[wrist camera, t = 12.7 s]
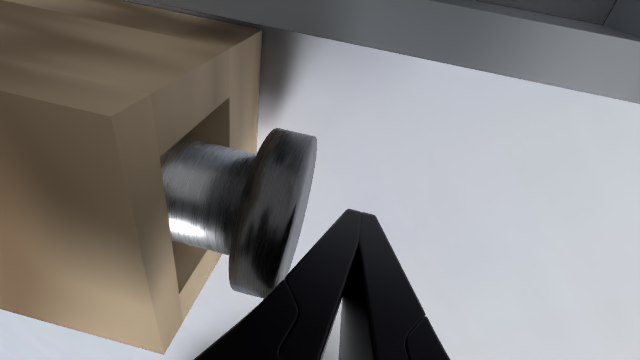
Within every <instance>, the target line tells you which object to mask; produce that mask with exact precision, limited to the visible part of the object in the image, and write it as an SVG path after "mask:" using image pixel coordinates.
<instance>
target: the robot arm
mask: <svg viewBox="0 0 640 360" xmlns="http://www.w3.org/2000/svg"><path fill="white" fill-rule="evenodd" d="M341 300H342V312H341V328H340V345H339V360H450V358H449V357H448V355H447V353H446V352H445V350H444V348H443V346H442V344H441V342H440V341H439V339H438V337H437V335H436V333H435V331H434V329H433V327H432V325H431V324H430V322H429V320H428V318H427V317H426V316H425V315H426V314H425V312H424V310H423V308H422V306H421V304H420V302H419V300H418V298H417V296H416V294H415V292H414V290H413V288H412V286H411V284H410V282H409V281H408V279H407V277H406V275H405V273H404V271H403V269H402V267H401V265H400V263H399V261H398V259H397V257H396V255H395V253H394V251H393V249H392V247H391V245H390V243H389V241H388V239H387V237H386V235H385V233H384V231H383V229H382V227H381V226H380V224H379V222H378V220H377V218H376V216H375V215H373V214H368V213H364V212H360V211H356V210H352V209H347V210H346V211H345V212H344V213H343V214H342V215H341V216H340V217H339V218H338V220H337V221H336V222H335V223H334V224H333V225H332V226H331V227H330V228H329V229H328V231H327V232H326V233H325V234H324V235H323V236H322V237H321V238H320V239H319V240H318V242H317V243H316V244H315V245H314V246H313V247H312V248H311V249H310V250H309V251H308V253H307V254H306V255H305V256H304V257H303V258H302V259H301V260H300V261H299V262H298V264H297V265H296V266H295V267H294V268H293V269H292V270H291V271H290V272H289V273H288V275H287V276H286V277H285V278H284V280H282V281H281V282H280V283H279V284H278V285H277V286H276V287H275V289H274V290H273V291H272V292H271V293H270V294H269V295H268V296H267V297H266V298H265V299H264V300H263V301H262V302H261V303H260V304H259V305H258V306H257V307H255V308H254V309H253V310H252V311H251V312H250V313H249V314H248V315H246V316H245V317H244V318H243V319H242V320H241V321H239V322H238V323H237V324H236V325H235V326H233V327H232V328H231V329H230V330H229V331H228V332H226V333H225V334H224V335H223V336H222V337H220V338H219V339H218V340H217V341H216V342H214V343H213V344H212V345H211V346H210V347H208V348H207V349H206V350H205V351H204V352H202V353H201V354H200V355H199V356H197V357H196V358H195V359H194V360H322V358H323V354H324V351H325V348H326V345H327V342H328V339H329V336H330V333H331V330H332V327H333V324H334V321H335V318H336V315H337V312H338V309H339V306H340V303H341Z"/></svg>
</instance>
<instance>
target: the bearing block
mask: <svg viewBox="0 0 640 360" xmlns="http://www.w3.org/2000/svg"><path fill="white" fill-rule="evenodd" d="M261 46H262V30H260V29H255V28H251V27H246V26H241V25H236V24H231V23H227V22H222V21H217V20H212V19H208V18H203V17H198V16H193V15H188V14H184V13H179V12H174V11H169V10H165V9H160V8H155V7H150V6H145V5H141V4H136V3H131V2H126V1H122V0H0V309H2V310H6V311H9V312H13V313H16V314H20V315H24V316H27V317H31V318H34V319H38V320H41V321H45V322H49V323H52V324H56V325H59V326H63V327H67V328H70V329H74V330H77V331H81V332H84V333H88V334H92V335H95V336H99V337H102V338H106V339H109V340H113V341H117V342H120V343H124V344H127V345H131V346H135V347H138V348H142V349H145V350H149V351H152V352H156V353H160V354H163V355H164V354H165V352H166V350H167V348H168V347H169V345H170V343H171V341H172V340H173V338H174V336H175V335H176V333H177V331H178V329H179V328H180V326H181V324H182V322H183V321H184V319H185V317H186V316H187V314H188V312H189V310H190V309H191V307H192V305H193V303H194V302H195V300H196V298H197V297H198V295H199V293H200V291H201V290H202V288H203V286H204V284H205V283H206V281H207V279H208V278H209V276H210V274H211V272H212V271H213V269H214V267H215V265H216V264H217V262H218V260H219V259H220V257H221V255H222V253H218V252H214V251H210V250H206V249H203V248H199V247H195V246H191V245H187V244H183V243H179V242H175V241H172V240H171V233H170V226H169V219H168V212H167V205H166V198H165V191H164V184H163V177H162V170H161V163H160V156H161V155H163V154H164V153H165V152H166V151H167V150H168V149H170V148H171V147H172V146H173V145H174V144H175V143H177V142H178V141H179V140H180V139H181V138H182V137H186V138H190V139H195V140H199V141H203V142H207V143H212V144H216V145H220V146H224V147H229V148H233V149H237V150H242V151H246V152H250V153H254V154H256V143H257V124H258V104H259V85H260V65H261Z"/></svg>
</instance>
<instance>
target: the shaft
mask: <svg viewBox="0 0 640 360" xmlns="http://www.w3.org/2000/svg"><path fill="white" fill-rule="evenodd" d="M316 152H317V139H316V137H315V136H310V135H306V134H302V133H297V132H293V131H289V130H284V129H280V128H276V129H273V130H272V131H271V132H270V133H269V134H268V136H267V137H266V139H265V140H264V142H263V143H262V145H261V147H260V149H259V151H258V153H257V154H254V153H250V152H246V151H242V150H237V149H233V148H229V147H224V146H220V145H216V144H212V143H207V142H203V141H199V140H195V139H190V138H186V137H182V138H181V139H180V140H179V141H178V142H177V143H175V144H174V145H173V146H172V147H171V148H170V149H168V150H167V151H166V152H165V153H164V154H163V155H161V156H160V163H161V170H162V177H163V184H164V191H165V198H166V205H167V212H168V219H169V226H170V233H171V240H172V241H175V242H179V243H183V244H187V245H191V246H195V247H199V248H203V249H206V250H210V251H214V252H218V253H222V254H226V255H230V256H229V280H230V285H231V288H232V289H233V290H234V291H237V292H241V293H245V294H249V295H253V296H256V297H260V298H264V299H265V298H266V297H267V296H268V295H269V294H270V293H271V292H272V291H273V290H274V289H275V287H276V286H277V285H278V284H279V283H280V282H281V281H282V280H284V278H285V277H286V276H287V275H288V272H289V269H290V266H291V263H292V260H293V256H294V253H295V250H296V246H297V243H298V239H299V236H300V232H301V228H302V224H303V220H304V216H305V212H306V208H307V203H308V199H309V194H310V189H311V184H312V179H313V174H314V168H315V161H316Z"/></svg>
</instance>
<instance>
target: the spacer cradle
mask: <svg viewBox="0 0 640 360" xmlns="http://www.w3.org/2000/svg"><path fill="white" fill-rule="evenodd" d="M155 3H158V4H163V5H168V6H173V7H178V8H182V9H187V10H192V11H197V12H202V13H206V14H211V15H216V16H221V17H226V18H230V19H235V20H240V21H245V22H250V23H254V24H259V25H264V26H269V27H274V28H278V29H283V30H288V31H293V32H298V33H302V34H307V35H312V36H317V37H322V38H326V39H331V40H336V41H341V42H346V43H350V44H355V45H360V46H365V47H370V48H374V49H379V50H384V51H389V52H394V53H398V54H403V55H408V56H413V57H418V58H422V59H427V60H432V61H437V62H442V63H446V64H451V65H456V66H461V67H466V68H470V69H475V70H480V71H485V72H490V73H494V74H499V75H504V76H509V77H514V78H518V79H523V80H528V81H533V82H538V83H542V84H547V85H552V86H557V87H562V88H566V89H571V90H576V91H581V92H586V93H590V94H595V95H600V96H605V97H610V98H614V99H619V100H624V101H629V102H634V103H638V104H640V0H617V2H616V3H615V5H614V7H613V8H612V10H611V12H610V14H609V15H608V17H607V19H606V20H605V22H604V24H603V25H598V24H593V23H588V22H583V21H578V20H572V19H567V18H562V17H557V16H552V15H547V14H542V13H537V12H531V11H526V10H521V9H516V8H511V7H506V6H501V5H496V4H490V3H485V2H480V1H475V0H155Z"/></svg>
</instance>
